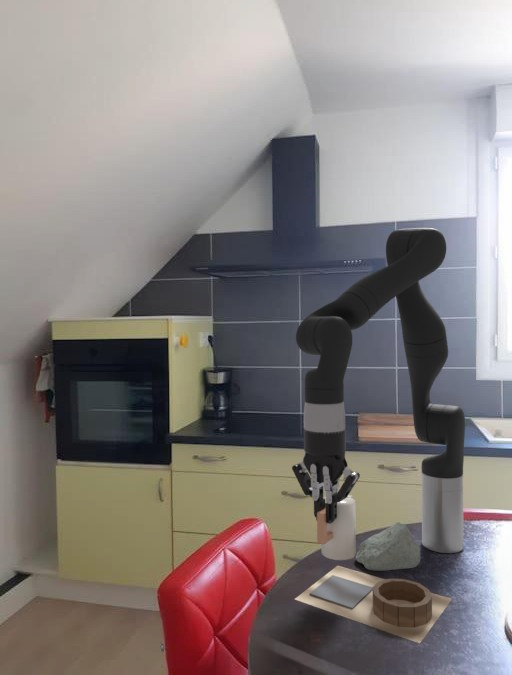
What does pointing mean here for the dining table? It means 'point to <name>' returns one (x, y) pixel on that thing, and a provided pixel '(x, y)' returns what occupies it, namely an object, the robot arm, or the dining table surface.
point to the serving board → (367, 605)
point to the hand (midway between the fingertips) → (325, 520)
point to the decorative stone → (390, 550)
